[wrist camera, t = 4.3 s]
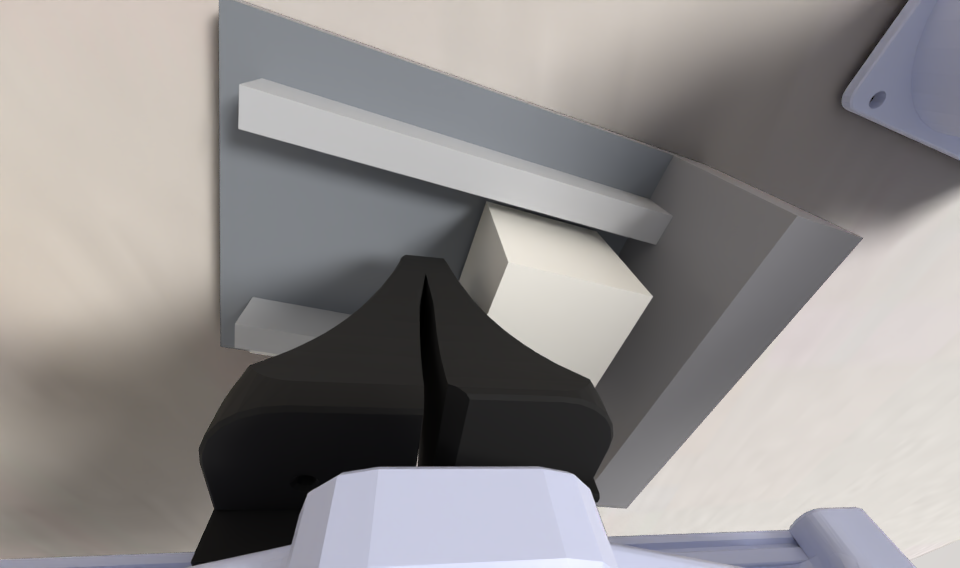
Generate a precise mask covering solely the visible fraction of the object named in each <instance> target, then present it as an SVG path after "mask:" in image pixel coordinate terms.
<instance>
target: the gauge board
mask: <svg viewBox="0 0 960 568" xmlns="http://www.w3.org/2000/svg"><path fill="white" fill-rule="evenodd" d="M219 128H220V333H221V347H226V348H233V349H239V350H246V351H249V353H253V354H260V355H267V356H277V355H279V354H282V353H284V352H287V351H289V350H292V349H294V348H296V347H298V346H300V345H302V344H305V343H307V342H309V341H311V340H313V339H315V338H316V337H318V336H320V335H322V334H324V333H326V332H327V331H329V330H330V329H332V328H334V327H335V326H337V325H338V324H340V323H341V322H343V321H344V320H345V319H347V318H348V317H349V316H351V315H352V314H353V313H354V312H356V311H357V310H358V309H359V308H360V307H362V306H363V305H364V304H365V303H366V302H367V301H368V300H369V299H370V298H371V297H372V296H373V295H374V294H375V293H376V292H377V291H378V290H379V289H380V288H381V286H382V285H383V284H384V283H385V282H386V280H387V279H388V278H389V277H390V275H391V274H392V273H393V271H394V270H395V268H396V267H397V265H398V264H399V262H400V259H401V257H403V256H404V255H414V256H424V257H435V258H444V260H445V261H446V262H447V264H448V265H449V267H450V269H451V270H452V272H453V273H454V275H455V276H456V278H457V279H458V281H459V280H460V277H461V274H462V271H463V268H464V265H465V262H466V259H467V256H468V254H469V251H470V248H471V245H472V242H473V239H474V236H475V233H476V230H477V227H478V224H479V221H480V218H481V216H482V213H483V210H484V207H485V204H486V201H488V202H492V203H495V204H499V205H502V206H506V207H510V208H513V209H517V210H521V211H524V212H528V213H532V214H535V215H539V216H542V217H546V218H550V219H553V220H557V221H561V222H564V223H568V224H571V225H575V226H579V227H582V228H586V229H590V230H593V231H597V232H598V234H599V235H600V236H601V237H602V238H603V239H604V240H605V242H606V243H607V244H608V245H609V246H610V247H611V249H612V250H613V251H614V252H615V253H616V254H617V256H618V257H619V258H620V259H621V260H622V261H623V262H624V264H625V265H626V266H627V267H628V268H629V269H630V271H631V272H632V273H633V274H634V275H635V276H636V277H637V279H638V280H639V281H640V282H641V283H642V284H643V286H644V287H645V288H646V289H647V290H648V291H649V292H650V294H651V295H652V296H653V297H652V299H651V301H650V302H649V304H648V305H647V307H646V308H645V310H644V311H643V313H642V315H641V316H640V318H639V319H638V321H637V322H636V324H635V326H634V327H633V329H632V330H631V332H630V333H629V335H628V337H627V338H626V340H625V341H624V343H623V344H622V346H621V347H620V349H619V351H618V352H617V354H616V355H615V357H614V358H613V360H612V362H611V363H610V365H609V366H608V368H607V369H606V371H605V373H604V374H603V376H602V377H601V379H600V380H599V382H598V383H597V385H596V387H595V389H596V391H597V392H598V394H599V396H600V398H601V400H602V402H603V404H604V406H605V408H606V411H607V413H608V415H609V417H610V419H611V421H612V423H613V435H614V436H613V439H612V442H611V445H610V447H609V449H608V451H607V453H606V455H605V457H604V459H603V461H602V463H601V465H600V466H599V468H598V470H597V472H596V474H595V476H594V480H595V483H596V485H597V488H598V491H599V493H600V499H599V501H598V503H596V506H598V507H612V508H627V507H628V506H629V505H630V504H631V503H632V502H633V500H634V499H635V498H636V497H637V496H638V495H639V494H640V492H641V491H642V490H643V489H644V488H645V487H646V486H647V484H648V483H649V482H650V481H651V480H652V479H653V478H654V476H655V475H656V474H657V473H658V472H659V471H660V470H661V468H662V467H663V466H664V465H665V464H666V463H667V462H668V460H669V459H670V458H671V457H672V456H673V455H674V454H675V452H676V451H677V450H678V449H679V448H680V447H681V446H682V444H683V443H684V442H685V441H686V440H687V439H688V438H689V436H690V435H691V434H692V433H693V432H694V431H695V430H696V428H697V427H698V426H699V425H700V424H701V423H702V422H703V420H704V419H705V418H706V417H707V416H708V415H709V414H710V412H711V411H712V410H713V409H714V408H715V407H716V406H717V404H718V403H719V402H720V401H721V400H722V399H723V398H724V396H725V395H726V394H727V393H728V392H729V391H730V390H731V388H732V387H733V386H734V385H735V384H736V383H737V382H738V380H739V379H740V378H741V377H742V376H743V375H744V374H745V372H746V371H747V370H748V369H749V368H750V367H751V366H752V364H753V363H754V362H755V361H756V360H757V359H758V358H759V356H760V355H761V354H762V353H763V352H764V351H765V350H766V348H767V347H768V346H769V345H770V344H771V343H772V342H773V340H774V339H775V338H776V337H777V336H778V335H779V334H780V333H781V331H782V330H783V329H784V328H785V327H786V326H787V325H788V323H789V322H790V321H791V320H792V319H793V318H794V317H795V315H796V314H797V313H798V312H799V311H800V310H801V309H802V307H803V306H804V305H805V304H806V303H807V302H808V301H809V299H810V298H811V297H812V296H813V295H814V294H815V293H816V291H817V290H818V289H819V288H820V287H821V286H822V285H823V283H824V282H825V281H826V280H827V279H828V278H829V277H830V275H831V274H832V273H833V272H834V271H835V270H836V269H837V267H838V266H839V265H840V264H841V263H842V262H843V261H844V259H845V258H846V257H847V256H848V255H849V254H850V253H851V251H852V250H853V249H854V248H855V247H856V246H857V245H858V243H859V242H860V241H861V240H862V239H863V238H862V237H860V236H858V235H856V234H854V233H851V232H849V231H847V230H845V229H843V228H841V227H839V226H836V225H834V224H832V223H830V222H828V221H826V220H823V219H821V218H819V217H817V216H815V215H813V214H811V213H808V212H806V211H804V210H802V209H800V208H798V207H796V206H793V205H791V204H789V203H787V202H785V201H783V200H780V199H778V198H776V197H774V196H772V195H770V194H768V193H765V192H763V191H761V190H759V189H757V188H755V187H753V186H750V185H748V184H746V183H744V182H742V181H740V180H737V179H735V178H733V177H731V176H729V175H727V174H725V173H722V172H720V171H718V170H716V169H714V168H712V167H709V166H707V165H705V164H702V163H699V162H697V161H694V160H691V159H688V158H685V157H683V156H680V155H677V154H674V153H671V152H668V151H666V150H663V149H660V148H657V147H654V146H651V145H649V144H646V143H643V142H640V141H637V140H635V139H632V138H629V137H626V136H623V135H620V134H618V133H615V132H612V131H609V130H606V129H603V128H601V127H598V126H595V125H592V124H589V123H587V122H584V121H581V120H578V119H575V118H572V117H570V116H567V115H564V114H561V113H558V112H555V111H553V110H550V109H547V108H544V107H541V106H539V105H536V104H533V103H530V102H527V101H524V100H522V99H519V98H516V97H513V96H510V95H507V94H505V93H502V92H499V91H496V90H493V89H491V88H488V87H485V86H482V85H479V84H476V83H474V82H471V81H468V80H465V79H462V78H459V77H457V76H454V75H451V74H448V73H445V72H443V71H440V70H437V69H434V68H431V67H428V66H426V65H423V64H420V63H417V62H414V61H411V60H409V59H406V58H403V57H400V56H397V55H394V54H392V53H389V52H386V51H383V50H380V49H378V48H375V47H372V46H369V45H366V44H363V43H361V42H358V41H355V40H352V39H349V38H346V37H344V36H341V35H338V34H335V33H332V32H330V31H327V30H324V29H321V28H318V27H315V26H313V25H310V24H307V23H304V22H301V21H298V20H296V19H293V18H290V17H287V16H284V15H282V14H279V13H276V12H273V11H270V10H267V9H265V8H262V7H259V6H256V5H253V4H250V3H248V2H245V1H242V0H219Z"/></svg>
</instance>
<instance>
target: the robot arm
mask: <svg viewBox="0 0 960 568" xmlns="http://www.w3.org/2000/svg"><path fill="white" fill-rule="evenodd" d="M873 96H874V98H873V100H872V101H871V102H870V100H871V98H872V97H873ZM841 102H842V106H843V107H844V108H845V109H846V110H848V111H850V112H853V113H855V114H857V115H859V116H862V117H864V118H866V119H868V120H870V121H873V122H875V123H877V124H879V125H882V126H884V127H886V128H888V129H890V130H893V131H895V132H897V133H899V134H902V135H904V136H906V137H908V138H910V139H913V140H915V141H917V142H919V143H921V144H924V145H926V146H928V147H930V148H933V149H935V150H937V151H939V152H941V153H944V154H946V155H948V156H950V157H953V158H955V159H957V160H959V161H960V0H908V2H907V3H906V5H905V6H904V8H903V9H902V10H901V12H900V13H899V15H898V16H897V17H896V19H895V20H894V22H893V23H892V25H891V26H890V27H889V29H888V30H887V32H886V33H885V34H884V36H883V37H882V39H881V40H880V41H879V43H878V44H877V46H876V47H875V49H874V50H873V51H872V53H871V54H870V56H869V57H868V58H867V60H866V61H865V63H864V64H863V66H862V67H861V68H860V70H859V71H858V73H857V74H856V75H855V77H854V78H853V80H852V81H851V82H850V84H849V85H848V87H847V88H846V90H845V92H844V93H843V96H842V101H841ZM869 102H870V103H869ZM613 436H614V435H613V423H612V421H611V419H610V417H609V415H608V413H607V411H606V408H605V406H604V404H603V402H602V400H601V398H600V396H599V394H598V392H597V391H596V389H595V387H594V385H593V384H592V382H591V380H590V379H588V378H586V377H584V376H582V375H580V374H578V373H575V372H573V371H571V370H569V369H567V368H565V367H563V366H560V365H558V364H556V363H554V362H553V361H551V360H549V359H547V358H546V357H544V356H542V355H540V354H539V353H537V352H535V351H534V350H532V349H530V348H529V347H527V346H526V345H524V344H523V343H521V342H520V341H519V340H517V339H516V338H514V337H513V336H512V335H510V334H509V333H508V332H506V331H505V330H504V329H503V328H501V327H500V326H499V325H498V324H497V323H496V322H495V321H493V320H492V319H491V318H490V317H489V316H488V315H487V314H486V313H485V312H484V311H483V310H482V309H481V308H480V307H479V306H478V305H477V304H476V303H475V302H474V300H473V299H472V298H471V297H470V295H469V294H468V293H467V292H466V290H465V289H464V288H463V286H462V285H461V284H460V282H459V281H458V279H457V278H456V276H455V275H454V273H453V272H452V270H451V269H450V267H449V265H448V264H447V262H446V261H445V260H444V258H435V257H424V256H414V255H404V256H403V257H401V259H400V262H399V264H398V265H397V267H396V268H395V270H394V271H393V273H392V274H391V275H390V277H389V278H388V279H387V280H386V282H385V283H384V284H383V285H382V286H381V288H380V289H379V290H378V291H377V292H376V293H375V294H374V295H373V296H372V297H371V298H370V299H369V300H368V301H367V302H366V303H365V304H364V305H363V306H362V307H360V308H359V309H358V310H357V311H356V312H354V313H353V314H352V315H351V316H349V317H348V318H347V319H345V320H344V321H343V322H341V323H340V324H338V325H337V326H335V327H334V328H332V329H330V330H329V331H327V332H326V333H324V334H322V335H320V336H318V337H316V338H315V339H313V340H311V341H309V342H307V343H305V344H302V345H300V346H298V347H296V348H294V349H292V350H289V351H287V352H284V353H282V354H279V355H277V356H274V357H271V358H269V359H266V360H264V361H261V362H258V363H255V364H253V365H250V366H249V367H248V368H247V369H246V371H245V372H244V374H243V375H242V376H241V378H240V379H239V380H238V382H237V383H236V384H235V385H234V387H233V388H232V389H231V391H230V392H229V394H228V395H227V396H226V398H225V399H224V401H223V403H222V404H221V406H220V408H219V410H218V411H217V413H216V415H215V417H214V419H213V421H212V422H211V424H210V426H209V428H208V430H207V432H206V433H205V435H204V438H203V440H202V443H201V445H200V447H199V457H200V465H201V468H202V471H203V474H204V478H205V481H206V484H207V487H208V491H209V494H210V497H211V500H212V503H213V507H214V511H213V513H212V515H211V518H210V520H209V522H208V524H207V527H206V529H205V531H204V533H203V535H202V538H201V540H200V542H199V544H198V547H197V549H196V551H195V552H183V553H157V554H130V555H103V556H76V557H49V558H22V559H0V568H916V567H915V566H914V565H913V564H912V563H911V562H910V560H909V559H908V558H907V557H906V556H905V555H904V554H903V553H902V552H901V551H900V550H899V549H898V547H897V546H896V545H895V544H894V543H893V542H892V541H891V540H890V539H889V538H888V537H887V535H886V534H885V533H884V532H883V531H882V530H881V529H880V528H879V527H878V526H877V525H876V523H875V522H874V521H873V520H872V519H871V518H870V517H869V516H868V515H867V514H866V513H865V512H864V510H863V509H861V508H857V507H843V508H818V509H813V510H811V511H808V512H806V513H804V514H803V515H801V516H800V517H799V518H797V519H796V520H795V521H794V523H793V524H792V525H791V526H790V529H789V530H774V531H747V532H720V533H693V534H666V535H640V536H613V537H607V534H606V531H605V528H604V525H603V523H602V520H601V517H600V514H599V512H598V509H597V506H596V503H598V501H599V499H600V493H599V491H598V488H597V485H596V483H595V480H594V476H595V474H596V472H597V470H598V468H599V466H600V465H601V463H602V461H603V459H604V457H605V455H606V453H607V451H608V449H609V447H610V445H611V442H612V439H613ZM418 449H419V451H418ZM417 456H418V467H416V463H417Z"/></svg>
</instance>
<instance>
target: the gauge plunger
mask: <svg viewBox="0 0 960 568" xmlns="http://www.w3.org/2000/svg"><path fill="white" fill-rule="evenodd" d="M459 282H460V284H461V285H462V286H463V288H464V289H465V290H466V292H467V293H468V294H469V295H470V297H471V298H472V299H473V300H474V302H475V303H476V304H477V305H478V306H479V307H480V308H481V309H482V310H483V311H484V312H485V313H486V314H487V315H488V316H489V317H490V318H491V319H492V320H493V321H495V322H496V323H497V324H498V325H499V326H500V327H501V328H503V329H504V330H505V331H506V332H508V333H509V334H510V335H512V336H513V337H514V338H516V339H517V340H519V341H520V342H521V343H523V344H524V345H526V346H527V347H529V348H530V349H532V350H534V351H535V352H537V353H539V354H540V355H542V356H544V357H546V358H547V359H549V360H551V361H553V362H554V363H556V364H558V365H560V366H563V367H565V368H567V369H569V370H571V371H573V372H575V373H578V374H580V375H582V376H584V377H586V378H588V379H590V380H591V382H592V384H593V385H594V387H596V385H597V383H598V382H599V380H600V379H601V377H602V376H603V374H604V373H605V371H606V369H607V368H608V366H609V365H610V363H611V362H612V360H613V358H614V357H615V355H616V354H617V352H618V351H619V349H620V347H621V346H622V344H623V343H624V341H625V340H626V338H627V337H628V335H629V333H630V332H631V330H632V329H633V327H634V326H635V324H636V322H637V321H638V319H639V318H640V316H641V315H642V313H643V311H644V310H645V308H646V307H647V305H648V304H649V302H650V301H651V299H652V297H653V296H652V295H651V294H650V292H649V291H648V290H647V289H646V288H645V287H644V286H643V284H642V283H641V282H640V281H639V280H638V279H637V277H636V276H635V275H634V274H633V273H632V272H631V271H630V269H629V268H628V267H627V266H626V265H625V264H624V262H623V261H622V260H621V259H620V258H619V257H618V256H617V254H616V253H615V252H614V251H613V250H612V249H611V247H610V246H609V245H608V244H607V243H606V242H605V240H604V239H603V238H602V237H601V236H600V235H599V234H598V232H597V231H593V230H590V229H586V228H582V227H579V226H575V225H571V224H568V223H564V222H561V221H557V220H553V219H550V218H546V217H542V216H539V215H535V214H532V213H528V212H524V211H521V210H517V209H513V208H510V207H506V206H502V205H499V204H495V203H492V202H488V201H486V204H485V207H484V210H483V213H482V216H481V218H480V221H479V224H478V227H477V230H476V233H475V236H474V239H473V242H472V245H471V248H470V251H469V254H468V256H467V259H466V262H465V265H464V268H463V271H462V274H461V277H460V280H459Z"/></svg>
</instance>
